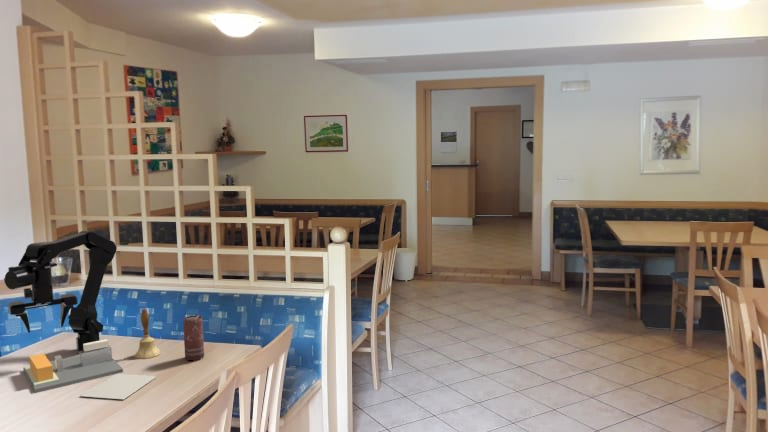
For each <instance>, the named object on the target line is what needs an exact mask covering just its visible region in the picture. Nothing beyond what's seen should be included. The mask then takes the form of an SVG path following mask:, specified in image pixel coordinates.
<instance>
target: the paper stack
mask: <svg viewBox="0 0 768 432" xmlns="http://www.w3.org/2000/svg"><path fill="white" fill-rule="evenodd" d="M157 377H158V376H156V375H144V374H143V375H142V374H128V373H116V374H112V375H111V376H110V377H108V378H107V379H106V380H103V381H102V382H100V383H98V384H97V385H95V386H94V387H92V388H90V389H89V390H87V391H85V392H84V393H82V394H80V395H79V397H87V398H99V399H115V400H126V398H128V397H130V396H131V395H132V394H134V393H135V392H137V391H139V390H140V389H141V388H143V387H144V386H146V385H147V384H148V383H150V382H152V381H153V380H155V379H156V378H157Z"/></svg>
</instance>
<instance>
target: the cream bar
mask: <svg viewBox="0 0 768 432" xmlns="http://www.w3.org/2000/svg"><path fill="white" fill-rule="evenodd" d="M108 345H109V340H108V339H107V338H106V339H101V340H100V341H95V342H90V343H85V344H83V350H84V351H90V350H95V349H99V348H104V347H108Z"/></svg>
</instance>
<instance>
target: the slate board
mask: <svg viewBox="0 0 768 432" xmlns="http://www.w3.org/2000/svg"><path fill="white" fill-rule="evenodd" d="M62 360H63V371H61V372H57V371H56V369H55V360H54V361H50V363H51V364H52V367H53V371H54V373H55V374H56V375H57V377H58V378H59V380H58V381H54V382H50V383H45V384H41V385H37V386H34V384H33V382H32V380H31V379H30V377H29V375H28V373H27V371H26V370H25V367H26V366H25V367H23V368H22V369H23V372H24V375H25V376H26V379H27V380H28V382H29V384H30V386H31V387H32V390H33V392H34V393H41V392H44V391H49V390H53V389H57V388H61V387H65V386H70V385H75V384H77V383H78V384H79V383H83V382H87V381H89V380H90V381H91V380H94V379H98V378H103V377H107V376H113V375H115V374H122V373H123V372H124V368H123V367H122V366H120V364H119V363H118V362H117V361H115V359H114V358H113V357H112V360H110V361H106V362H102V363H97V364H93V365H88V366H84V367H83V366H82V365H81V364H80V355H77V356H72V357H67V358H62Z"/></svg>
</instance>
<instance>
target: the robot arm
mask: <svg viewBox="0 0 768 432" xmlns="http://www.w3.org/2000/svg"><path fill="white" fill-rule="evenodd" d="M81 246H84V247H85V248H87V249H88V250H89V253H88V254H89V255H88V257H89V260H90V266H89V270H88V274H87V277H86V280H85V282H84V288H83V290H82V294H81V297H80V301H79V302H78V296H76V295H74V293H67V294H61V295H60V297H59V298H58V297H57V298H54V289H53V278H52V277H53V275H52V268H53V267H57V266H58V263H57V262H54V261H53V260H54V259H55V258H57V257H58V256H59V255H60V254H61V253H63V252H66V251H69V250H72V249H74V248H77V247H81ZM117 249H118V247H117V245H116V243H115V242H114V241H113V240H109V239H107V238H105V237H103V236H101V235H98V234H97V233H96V232H95V231H92V230H81V231H79V232H77V233H73V234H71V235H68V236H64V237H62V238H59V239H55V240H52V241H43V242H42V241H40V242H32V243H30V244H28V245H27V246H26V249H25V251H24V253H23V255H22V257H21V258H20V261H19V262H18V266H10V267H8V270H7V272H6V273H5V276H4V279H3V281H4V283H5V286H6V287H7V288H8V289H9V290H13V291H14V290H17V289H20V288H23V297H24V300H26V299H28V300H29V299H30V300H31V302H26V303H25V302H24V301H23V300H20V301H19V300H18V301H11V302H9V303H8V306H7V307H8V313H9V314H10V315H11V316H15V317H19V318H20V319H21V320H22V322H23V325H24V327H25V329H26V330H27V333H29V334H30V333H31V327H30V323H29V318H28V317H29V316H28V313H27V312H26V310H31V309H36V308H42V307H49V306H57V305H59V306H60V313H59V314H60V317H59V320H60V322H59V323H60V325H59V326H60V327H61V328H63V327H64V323H65V321H66V319H68V325H69V327H70V328H71V329H72V331H73V333H74V334H75V333H77V337H76V338H75V342H76V350H78V352H79V351H82V350H83V344H85V343H90V342H95V341H100V333H102V332H103V331H104V324H103V323H101V322H100V321H98V311H97V306H96V305H97V300H98V297H99V294H100V289H101V287H102V284H103V279H104V275H105V271H106V270H107V269H106V268H107V267H108V265H109V264H110V263H111V262H112V260H114V257H115V255H116V252H117ZM29 286H31V288H30V287H29ZM25 287H27V288H25ZM75 305H76V306H75ZM69 312H70V313H69ZM68 314H69V316H68ZM67 316H68V317H67Z"/></svg>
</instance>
